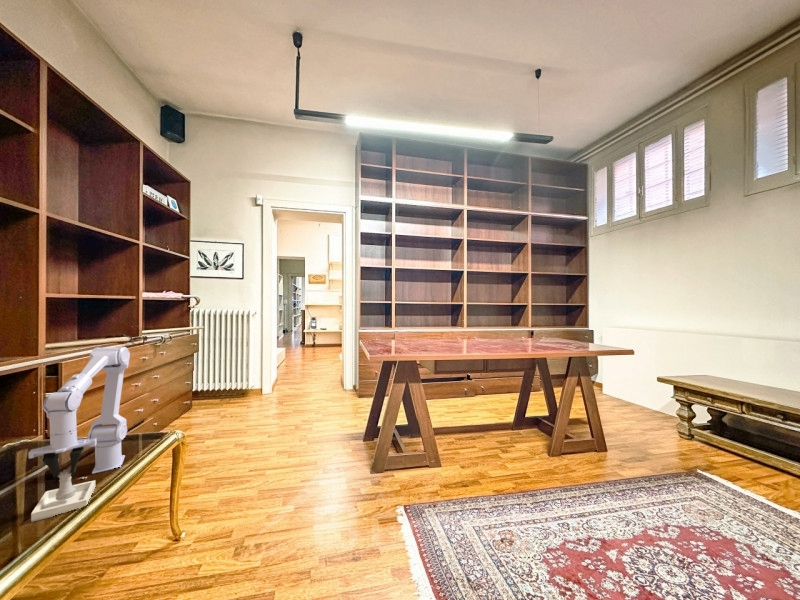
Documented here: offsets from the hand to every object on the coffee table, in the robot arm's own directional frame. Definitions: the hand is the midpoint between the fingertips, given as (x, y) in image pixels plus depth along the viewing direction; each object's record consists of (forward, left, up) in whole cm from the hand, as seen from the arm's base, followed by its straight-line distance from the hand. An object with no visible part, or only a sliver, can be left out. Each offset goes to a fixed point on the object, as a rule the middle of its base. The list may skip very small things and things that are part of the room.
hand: (65, 474), depth 101 cm
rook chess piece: (0, 0, -7) cm, 7 cm away
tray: (0, 0, -9) cm, 9 cm away
